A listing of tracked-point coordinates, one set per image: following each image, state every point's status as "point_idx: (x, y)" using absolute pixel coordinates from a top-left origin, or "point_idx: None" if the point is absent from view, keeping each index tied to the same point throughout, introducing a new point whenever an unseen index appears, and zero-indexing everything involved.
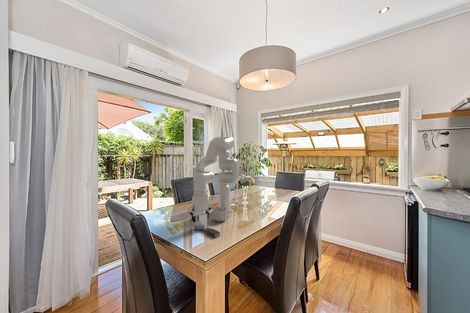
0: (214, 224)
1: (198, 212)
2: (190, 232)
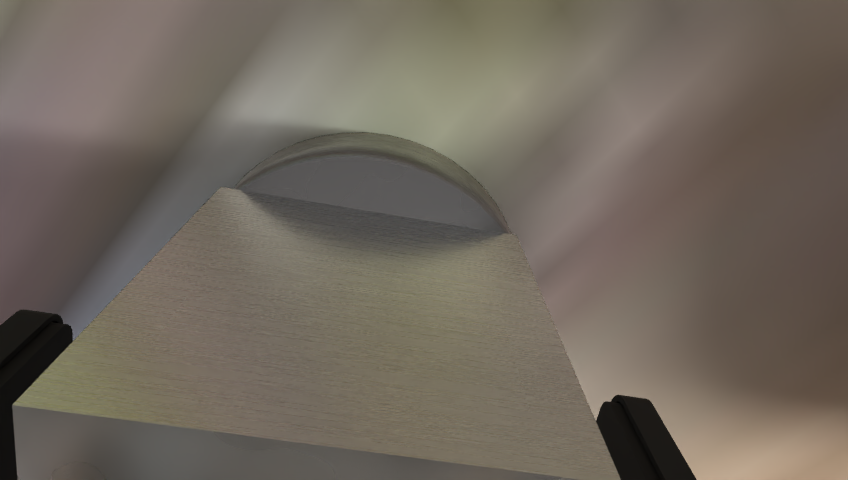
0: (756, 351)
1: (378, 459)
2: (50, 276)
